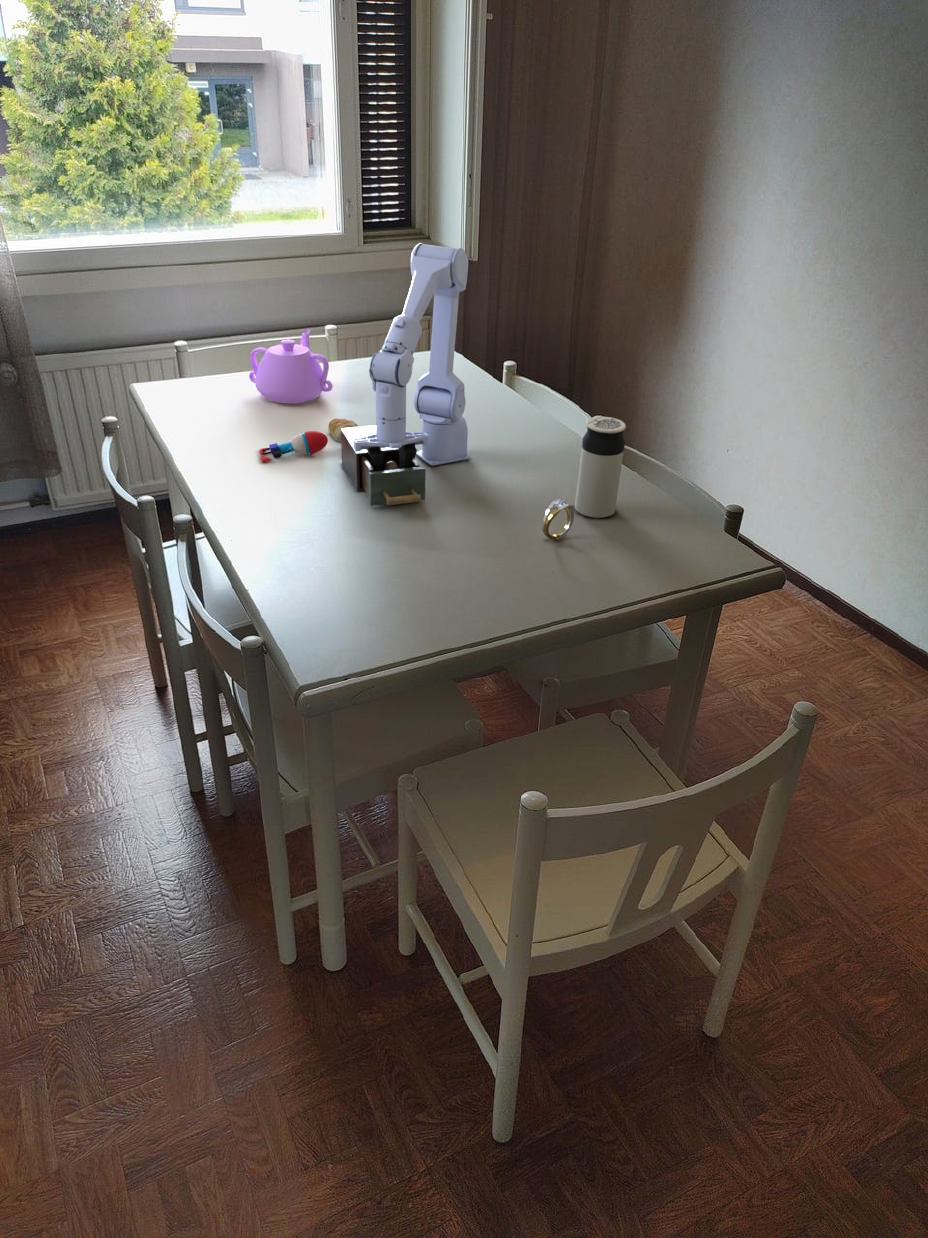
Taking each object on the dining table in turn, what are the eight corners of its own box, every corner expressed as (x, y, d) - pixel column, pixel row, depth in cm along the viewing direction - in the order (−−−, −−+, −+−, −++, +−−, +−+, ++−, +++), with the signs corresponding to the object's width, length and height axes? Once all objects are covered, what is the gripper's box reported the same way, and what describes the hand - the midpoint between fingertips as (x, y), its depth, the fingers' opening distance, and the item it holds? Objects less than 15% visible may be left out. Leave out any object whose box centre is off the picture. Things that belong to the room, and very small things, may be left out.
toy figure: (264, 471, 193) (332, 454, 195) (258, 449, 190) (327, 432, 193) (260, 459, 199) (327, 443, 202) (254, 438, 197) (322, 422, 199)
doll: (396, 482, 183) (396, 456, 180) (404, 489, 180) (405, 463, 177) (378, 485, 181) (377, 459, 178) (386, 493, 178) (386, 467, 175)
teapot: (350, 384, 237) (348, 331, 229) (320, 412, 219) (317, 355, 211) (271, 375, 241) (267, 322, 233) (236, 401, 223) (230, 345, 215)
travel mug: (622, 511, 180) (635, 424, 170) (597, 522, 175) (609, 434, 166) (591, 497, 185) (602, 412, 175) (566, 508, 180) (576, 422, 170)
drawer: (431, 509, 176) (432, 478, 172) (376, 516, 172) (376, 484, 169) (406, 473, 189) (406, 444, 185) (355, 479, 186) (354, 449, 182)
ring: (546, 547, 166) (550, 507, 162) (536, 539, 168) (539, 500, 164) (576, 538, 170) (581, 499, 165) (565, 531, 172) (569, 492, 167)
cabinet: (415, 485, 186) (415, 447, 182) (357, 491, 183) (356, 453, 178) (396, 459, 197) (396, 423, 193) (341, 464, 194) (340, 428, 189)
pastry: (321, 429, 210) (321, 413, 208) (349, 425, 213) (348, 409, 211) (336, 443, 203) (336, 427, 201) (364, 439, 206) (364, 423, 204)
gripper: (358, 425, 167) (360, 493, 175) (433, 419, 172) (432, 485, 179) (349, 412, 173) (351, 478, 180) (422, 406, 177) (421, 471, 185)
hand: (391, 481), depth 180 cm, fingers closed on doll, 4 cm apart
